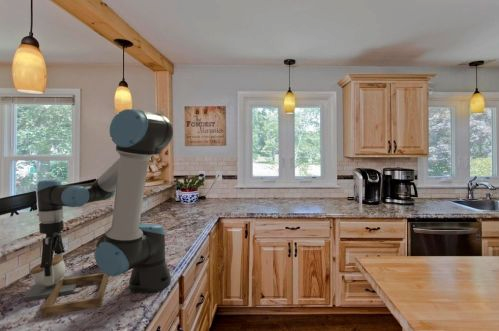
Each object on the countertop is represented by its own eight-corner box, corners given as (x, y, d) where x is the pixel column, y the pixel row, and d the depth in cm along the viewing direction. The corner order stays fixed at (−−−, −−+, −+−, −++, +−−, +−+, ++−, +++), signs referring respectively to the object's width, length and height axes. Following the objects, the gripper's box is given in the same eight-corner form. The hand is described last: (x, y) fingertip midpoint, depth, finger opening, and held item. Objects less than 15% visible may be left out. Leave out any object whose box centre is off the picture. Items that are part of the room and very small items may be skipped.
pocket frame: (108, 279, 117) (107, 272, 117) (100, 306, 96) (100, 297, 96) (60, 286, 111) (60, 279, 111) (41, 317, 90) (41, 308, 90)
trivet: (81, 276, 120) (81, 274, 120) (73, 293, 106) (73, 289, 106) (37, 283, 115) (37, 280, 115) (23, 301, 101) (23, 297, 101)
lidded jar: (75, 270, 116) (66, 249, 114) (59, 284, 105) (48, 261, 104) (49, 279, 116) (40, 257, 114) (31, 294, 105) (20, 271, 104)
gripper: (49, 215, 120) (52, 266, 120) (27, 230, 96) (30, 293, 97) (70, 213, 122) (73, 263, 123) (53, 227, 99) (57, 289, 100)
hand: (54, 276), depth 110 cm, fingers open, 13 cm apart
